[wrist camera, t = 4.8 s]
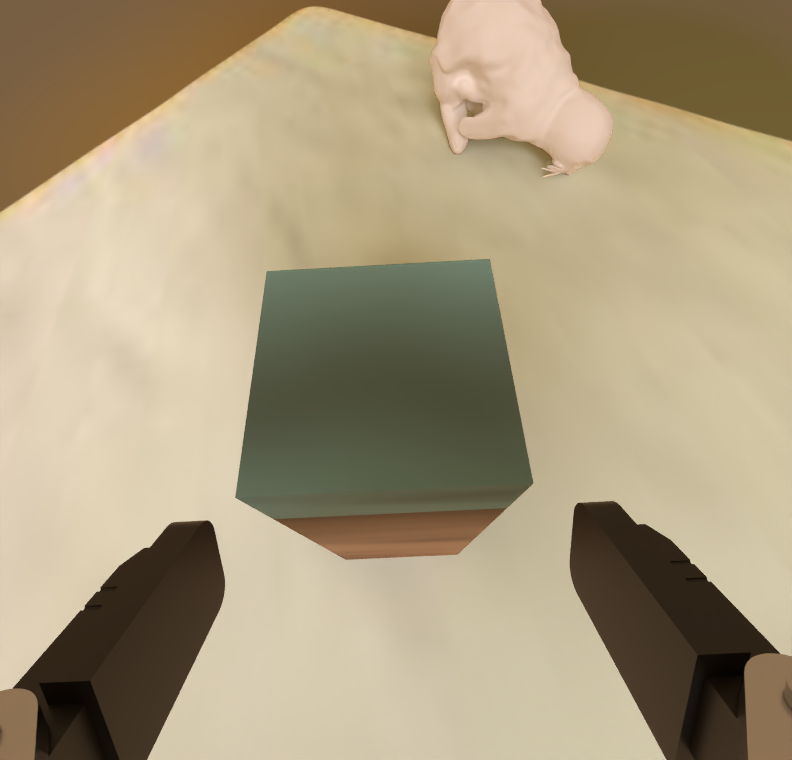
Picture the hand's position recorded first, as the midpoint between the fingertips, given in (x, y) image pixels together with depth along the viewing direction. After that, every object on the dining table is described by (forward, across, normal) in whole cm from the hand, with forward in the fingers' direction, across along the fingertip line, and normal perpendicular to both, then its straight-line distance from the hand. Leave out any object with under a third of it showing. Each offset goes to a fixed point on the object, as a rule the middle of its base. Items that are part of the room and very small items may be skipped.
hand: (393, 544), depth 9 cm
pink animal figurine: (+25, -9, -12) cm, 29 cm away
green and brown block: (+8, 0, +4) cm, 9 cm away
